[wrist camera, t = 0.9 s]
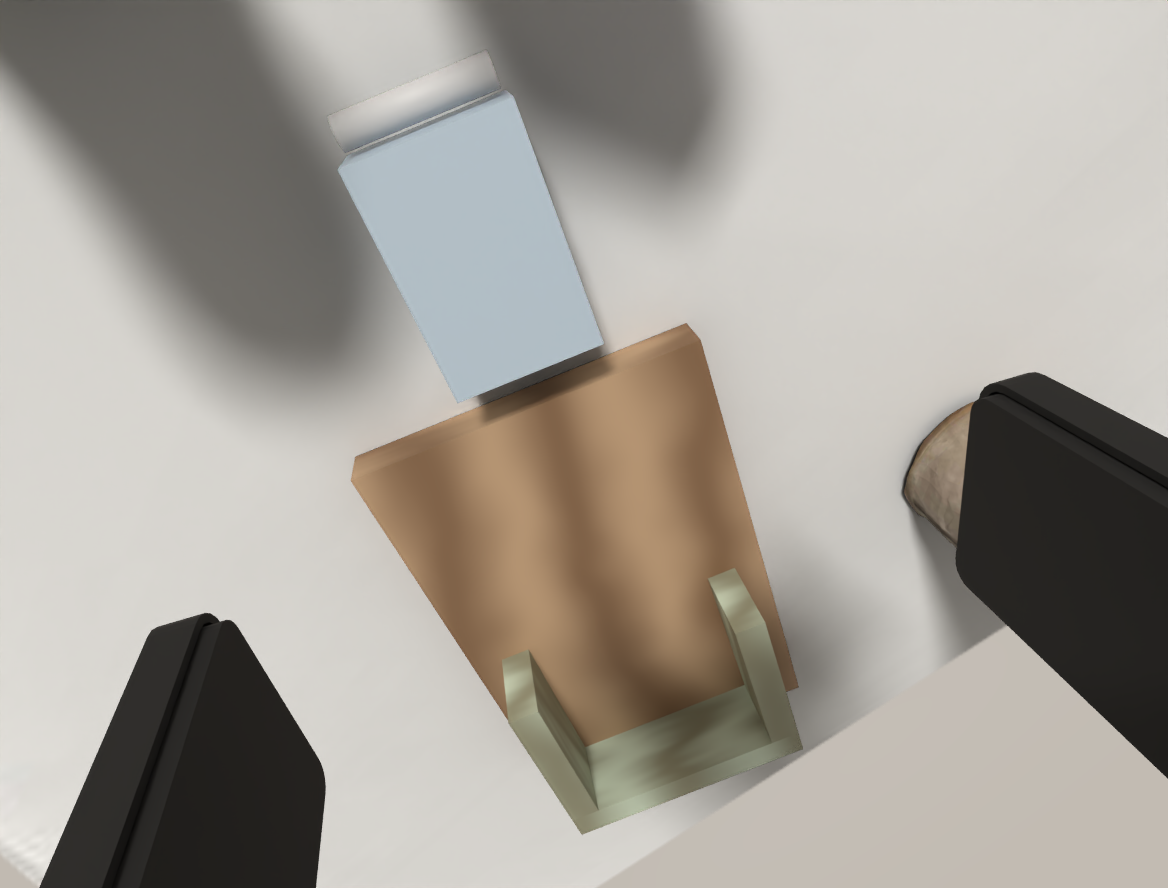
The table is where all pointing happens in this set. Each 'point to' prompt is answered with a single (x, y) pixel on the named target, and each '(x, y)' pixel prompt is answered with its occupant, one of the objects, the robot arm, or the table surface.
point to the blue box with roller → (466, 226)
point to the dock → (600, 575)
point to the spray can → (941, 474)
